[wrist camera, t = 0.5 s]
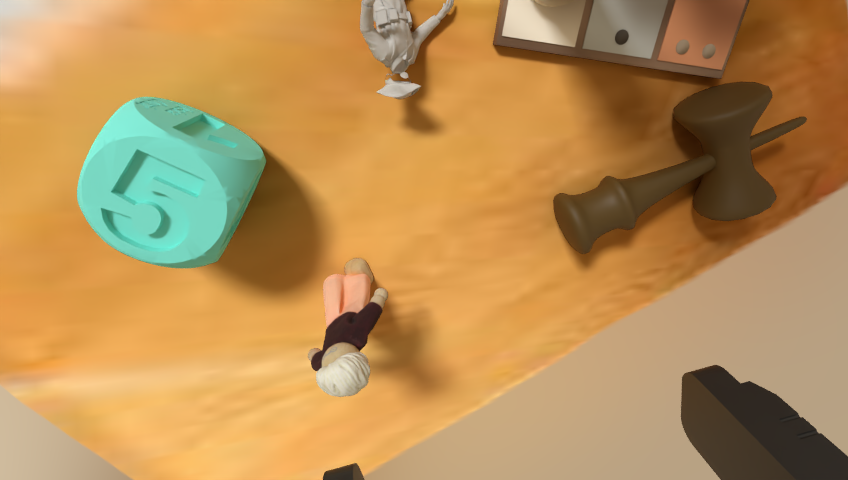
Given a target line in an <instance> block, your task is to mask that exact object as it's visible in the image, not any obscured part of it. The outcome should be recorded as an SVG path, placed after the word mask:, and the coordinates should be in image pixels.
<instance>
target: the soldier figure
mask: <svg viewBox="0 0 848 480" xmlns="http://www.w3.org/2000/svg"><path fill="white" fill-rule="evenodd" d="M453 3H454V0H450V1H449V4H448V0H447V1H446V5H445V3H444V4H443V8H442V9H441V10H440V12H439V13H438V15H437V16H435V15H433V16H432V17H431V18H429V19H428V20H427V21H425V22H424V23H423V24H421V25H420V26H419V27H418V28H417V29H416V30H415V31H414V32H412V33H411V31H410V29H411V28H412V26H411V25H412V19H411V14H410V11H408V12H407V7H406V4H405V1H404V0H362V6H361V17H360V31H361V33H362V34H363V36H364V38H365V40H366V42H367V44H368V45H369V49H371V52H372V53H373V56H374V57H375V58H376V59H377V60H379V61H381V62H382V63H383V64H385V66H386V67H387V68H388V67H390V70H391V71H392V73H395V74H396V73H399V74H400V76H401V77H402V78H405V79H406V78H408V74H407V73H406V72H405V71H406V69H407V68H408V66H409V65H411V64H414V63H415V62H414V61H415V59H416V56H417V54H418V51H419V47H420V45H421V43H422V42H423V41H424V40H425V38H426V37H427V36H428V35H429V34H430V33H431V31H432V30H433V29H434V28H435V27H436V26H437V25H438V24H439V23H440V20H442V19H443V18H444V17H445V16H446V14H447V13H448V12H449V11H450V10H451V8H452V6H453ZM374 21H375V22H376V28H377V30H376V29H375V28H374V26H373V24H374ZM387 75H388V74H387ZM389 75H390V74H389ZM392 75H393V74H392ZM392 75H391V76H392ZM409 80H410V79H409ZM410 81H411V80H410ZM385 83H386V86H384V87H383V88H382V89H380V90H378V91H377V93H379V94H382V95H385V96H389V97H394V98H396V99H404V98H407V97H408V96H409V97H410V96H412V95H413V94H415V93H416V92H417V91H418V90H419V88H420V87H421V86H420V85H417V84H414V83H411V82H403V81H392V79H391V78H389V80H385Z"/></svg>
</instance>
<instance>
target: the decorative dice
mask: <svg viewBox="0 0 848 480" xmlns="http://www.w3.org/2000/svg"><path fill="white" fill-rule="evenodd" d="M265 164H266V158H265V156H264V153H263V151H262V149H261V148H260V146H259V145H258V144H257V143H256V142H255V141H254V140H253V139H251V138H250V137H249V136H247V135H246V134H245V133H243V132H242V131H240V130H239V129H237V128H235V127H234V126H232V125H230V124H228V123H226V122H224V121H222V120H221V119H218V118H216V117H214V116H212V115H210V114H208V113H205V112H203V111H200V110H198V109H195V108H193V107H190V106H187V105H184V104H181V103H178V102H174V101H170V100H166V99H161V98H155V97H140V98H136V99H133V100H131V101H129V102H127V103H126V104H124V105H123V106H122V107H120V108H119V109H118V110H117V111H116V112H115V113H114V114H113V115H112V117H111V118H110V119H109V120H108V122H107V123H106V124H105V126H104V127H103V128H102V130H101V131H100V133H99V135H98V136H97V138H96V140H95V141H94V143H93V145H92V147H91V149H90V151H89V153H88V155H87V157H86V160H85V162H84V165H83V168H82V171H81V174H80V178H79V182H78V188H77V199H78V203H79V206H80V208H81V210H82V212H83V214H84V216H85V218H86V220H87V221H88V223H89V224H90V226H91V227H92V228H93V230H94V231H95V232H96V233H97V234H98V235H99V236H100V237H101V238H102V239H103V240H104V241H105V242H106V243H107V244H109V245H110V246H111V247H113V248H114V249H116V250H118V251H120V252H121V253H123V254H125V255H128V256H130V257H132V258H135V259H137V260H140V261H143V262H146V263H150V264H154V265H158V266H164V267H171V268H196V267H201V266H205V265H208V264H211V263H214V262H217V261H218V260H219V258H220V257H221V255H222V254H223V252H224V250H225V249H226V247H227V245H228V243H229V241H230V240H231V238H232V236H233V234H234V232H235V230H236V228H237V226H238V224H239V222H240V220H241V218H242V216H243V214H244V212H245V210H246V208H247V206H248V204H249V202H250V200H251V198H252V195H253V193H254V191H255V189H256V187H257V184H258V182H259V180H260V177H261V175H262V172H263V170H264V167H265Z"/></svg>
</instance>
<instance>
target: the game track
mask: <svg viewBox="0 0 848 480" xmlns="http://www.w3.org/2000/svg"><path fill="white" fill-rule="evenodd" d="M748 3H749V0H574V1H573V2H571V3H569V4H566V5H561V6H556V7H546V6H542V5H540V4H538V3H536V2H535V1H534V0H501V1H500V7H499V13H498V18H497V24H496V30H495V35H494V41H493V45H499V46H506V47H512V48H519V49H525V50H532V51H539V52H545V53H552V54H558V55H565V56H572V57H578V58H585V59H591V60H598V61H605V62H611V63H618V64H625V65H631V66H638V67H644V68H651V69H658V70H664V71H671V72H677V73H684V74H691V75H697V76H704V77H710V78H719V79H721V78H722V75H723V72H724V70H725V67H726V64H727V61H728V58H729V56H730V53H731V50H732V47H733V45H734V42H735V39H736V36H737V33H738V31H739V28H740V25H741V22H742V19H743V17H744V14H745V11H746V8H747V5H748Z"/></svg>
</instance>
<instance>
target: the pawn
mask: <svg viewBox="0 0 848 480" xmlns="http://www.w3.org/2000/svg"><path fill="white" fill-rule="evenodd" d="M534 1H535V2H536V3H538V4H540V5H542V6H546V7H556V6H561V5H566V4H569V3H571V2H573V1H574V0H534Z"/></svg>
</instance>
